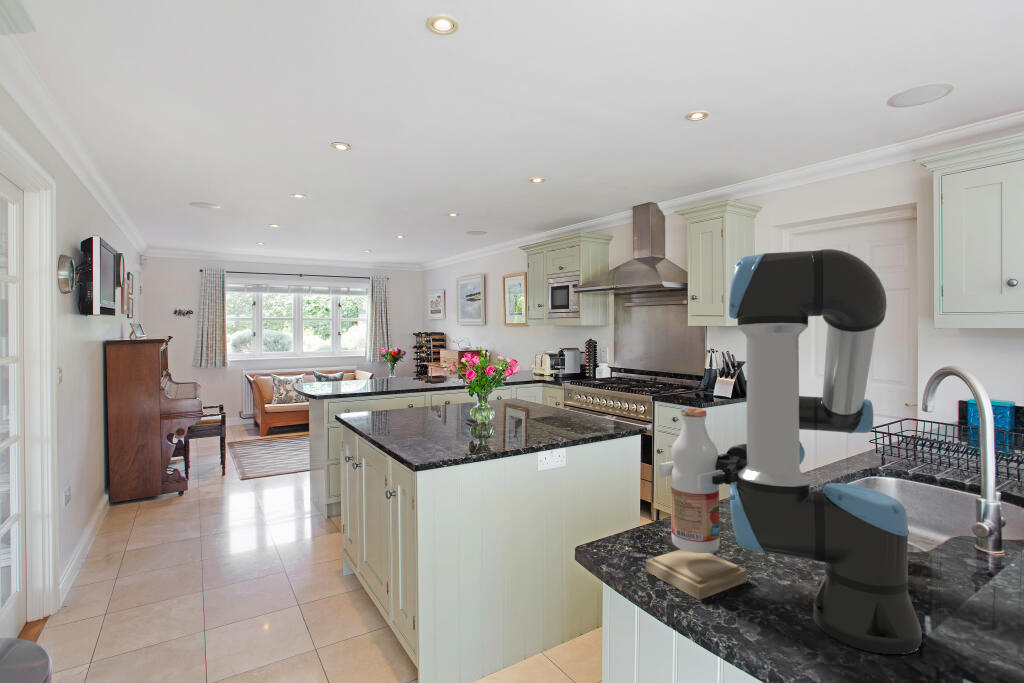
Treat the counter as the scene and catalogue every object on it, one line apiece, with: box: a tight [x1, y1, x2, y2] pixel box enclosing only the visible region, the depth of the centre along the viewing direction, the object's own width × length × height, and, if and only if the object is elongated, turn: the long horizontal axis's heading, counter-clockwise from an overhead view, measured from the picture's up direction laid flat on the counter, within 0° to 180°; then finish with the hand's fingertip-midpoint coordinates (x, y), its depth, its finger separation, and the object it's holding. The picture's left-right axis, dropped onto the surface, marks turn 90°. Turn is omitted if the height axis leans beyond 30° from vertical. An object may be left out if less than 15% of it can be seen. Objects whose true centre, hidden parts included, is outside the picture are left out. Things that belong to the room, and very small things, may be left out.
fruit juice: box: [670, 407, 720, 553], centre depth 108 cm, size 9×9×28 cm
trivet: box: [645, 548, 748, 601], centre depth 108 cm, size 14×14×3 cm
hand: (679, 476), depth 106 cm, fingers closed on fruit juice, 9 cm apart
